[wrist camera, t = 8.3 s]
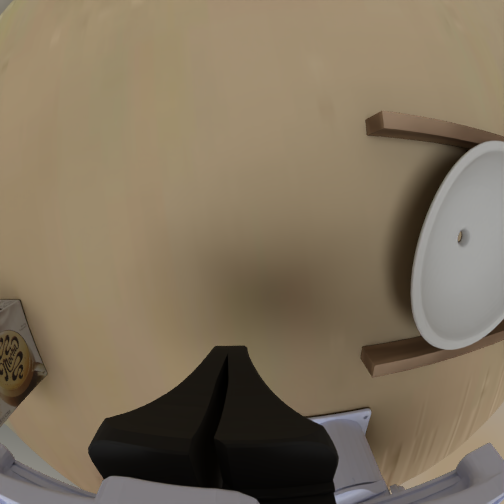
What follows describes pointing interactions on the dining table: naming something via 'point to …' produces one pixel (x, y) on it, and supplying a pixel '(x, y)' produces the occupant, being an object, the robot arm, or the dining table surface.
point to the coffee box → (16, 359)
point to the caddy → (418, 349)
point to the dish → (462, 253)
